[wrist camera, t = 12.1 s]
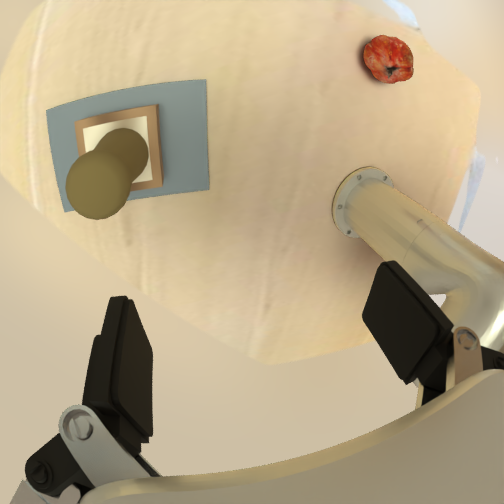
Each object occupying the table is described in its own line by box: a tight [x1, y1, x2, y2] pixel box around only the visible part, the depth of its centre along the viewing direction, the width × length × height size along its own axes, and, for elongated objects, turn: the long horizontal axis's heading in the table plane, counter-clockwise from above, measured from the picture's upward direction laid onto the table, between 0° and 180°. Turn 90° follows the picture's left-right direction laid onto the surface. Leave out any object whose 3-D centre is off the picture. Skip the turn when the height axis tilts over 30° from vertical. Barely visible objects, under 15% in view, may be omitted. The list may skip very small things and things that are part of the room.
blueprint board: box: [46, 79, 209, 212], centre depth 28 cm, size 20×14×1 cm
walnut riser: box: [74, 104, 164, 192], centre depth 26 cm, size 9×9×4 cm
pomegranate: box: [364, 35, 413, 84], centre depth 26 cm, size 7×7×10 cm
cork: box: [65, 128, 149, 220], centre depth 20 cm, size 6×6×11 cm
